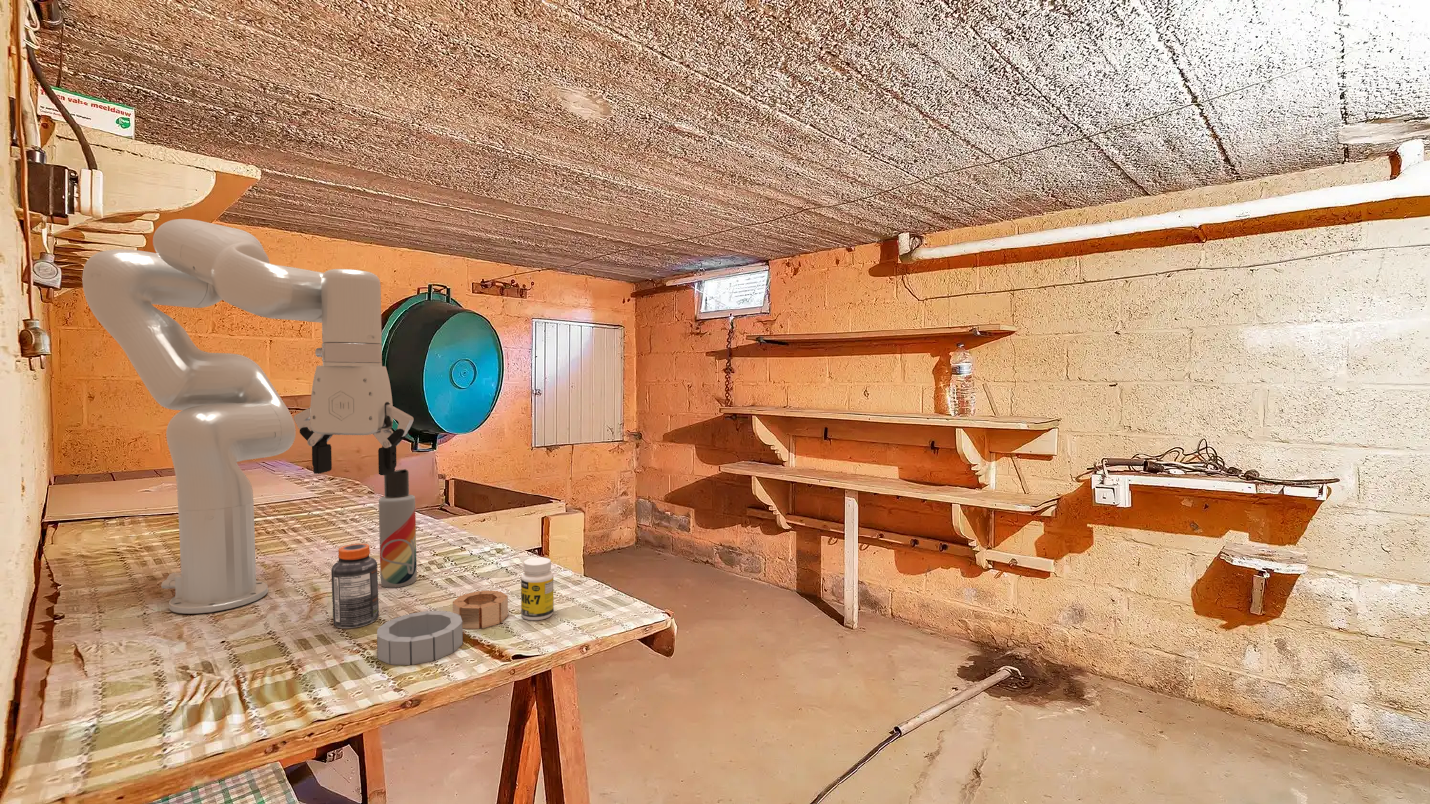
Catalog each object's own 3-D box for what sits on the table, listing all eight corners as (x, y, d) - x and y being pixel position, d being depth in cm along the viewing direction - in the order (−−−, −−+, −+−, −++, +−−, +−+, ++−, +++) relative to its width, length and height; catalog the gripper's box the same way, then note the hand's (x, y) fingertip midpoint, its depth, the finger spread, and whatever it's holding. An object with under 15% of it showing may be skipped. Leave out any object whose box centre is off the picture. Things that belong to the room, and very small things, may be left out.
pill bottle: (352, 612, 98) (350, 540, 98) (387, 615, 97) (386, 541, 97) (323, 628, 92) (321, 551, 92) (360, 630, 91) (358, 552, 91)
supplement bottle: (514, 618, 96) (514, 563, 96) (533, 607, 101) (533, 555, 100) (541, 623, 94) (541, 567, 94) (559, 611, 99) (559, 558, 98)
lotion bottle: (402, 589, 109) (399, 472, 108) (373, 587, 110) (370, 471, 109) (423, 578, 114) (421, 467, 113) (395, 576, 115) (393, 466, 114)
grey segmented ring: (360, 663, 81) (360, 640, 81) (404, 630, 92) (403, 610, 91) (439, 665, 81) (439, 642, 81) (474, 632, 91) (474, 611, 91)
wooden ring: (445, 628, 92) (445, 607, 92) (467, 609, 100) (467, 590, 100) (495, 629, 92) (494, 609, 92) (513, 610, 99) (513, 591, 99)
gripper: (276, 355, 89) (279, 476, 90) (397, 356, 89) (398, 478, 90) (312, 356, 97) (314, 467, 98) (423, 357, 96) (425, 470, 97)
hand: (354, 473), depth 94 cm, fingers open, 9 cm apart
